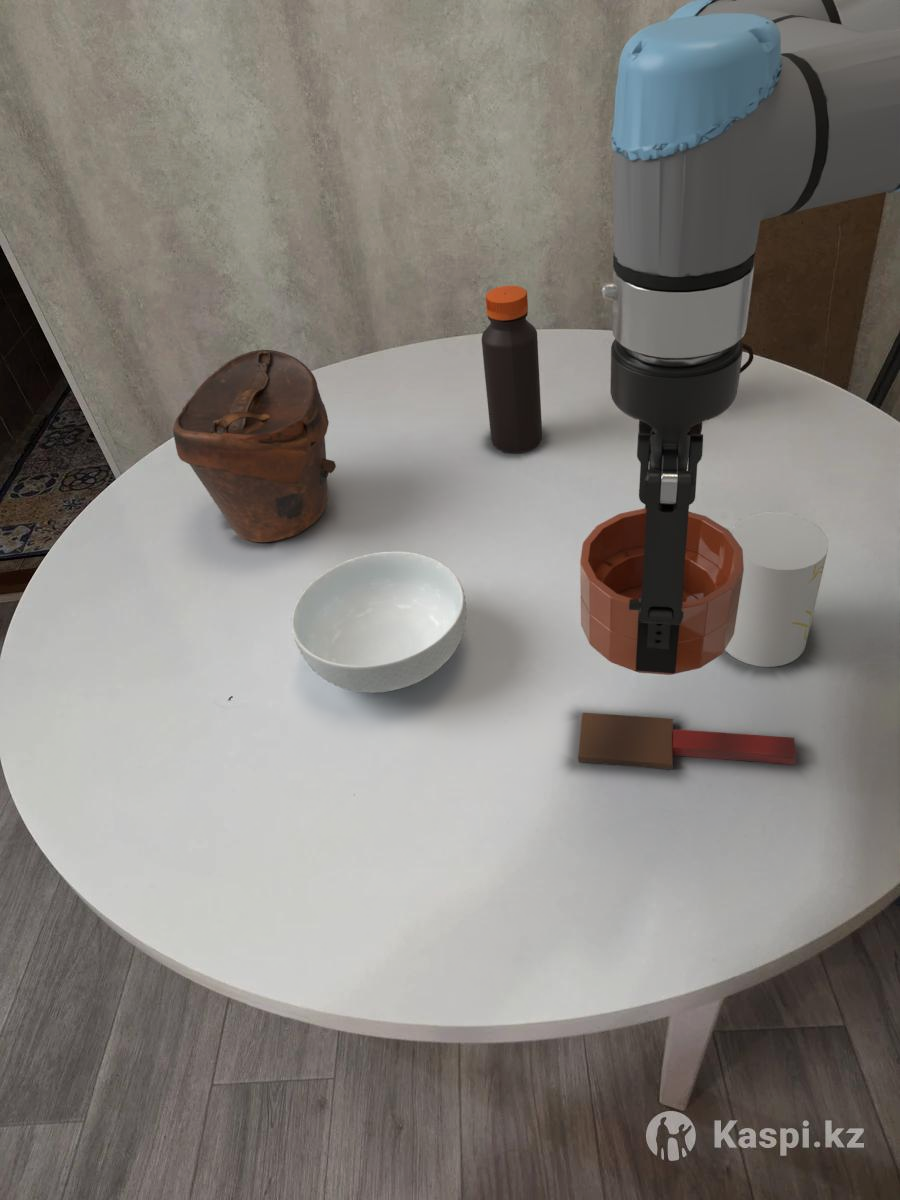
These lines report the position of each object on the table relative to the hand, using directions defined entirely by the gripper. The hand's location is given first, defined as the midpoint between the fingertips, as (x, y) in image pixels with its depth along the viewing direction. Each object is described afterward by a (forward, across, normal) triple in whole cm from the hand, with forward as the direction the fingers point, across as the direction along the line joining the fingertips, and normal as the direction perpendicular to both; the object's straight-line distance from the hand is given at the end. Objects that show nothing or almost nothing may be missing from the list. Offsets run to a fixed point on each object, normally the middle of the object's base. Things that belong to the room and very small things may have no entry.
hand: (657, 610), depth 65 cm
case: (+17, -31, -46) cm, 59 cm away
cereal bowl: (+17, -9, -26) cm, 32 cm away
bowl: (+2, 0, 0) cm, 2 cm away
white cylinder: (+17, -14, +10) cm, 24 cm away
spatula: (+16, 0, +4) cm, 17 cm away
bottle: (+17, -49, -19) cm, 55 cm away
